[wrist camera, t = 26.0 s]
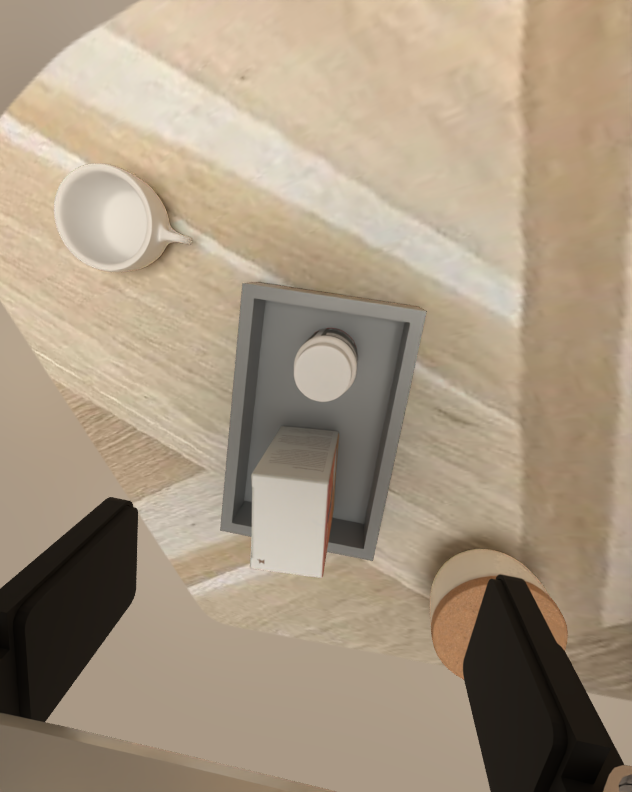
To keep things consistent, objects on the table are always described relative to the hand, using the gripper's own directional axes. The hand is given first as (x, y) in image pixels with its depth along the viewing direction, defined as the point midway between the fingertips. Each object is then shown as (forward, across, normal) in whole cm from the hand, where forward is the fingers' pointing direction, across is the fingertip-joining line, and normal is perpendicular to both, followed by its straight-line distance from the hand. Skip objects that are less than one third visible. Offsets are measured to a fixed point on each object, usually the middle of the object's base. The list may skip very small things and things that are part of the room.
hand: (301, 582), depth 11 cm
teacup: (+29, +19, -9) cm, 35 cm away
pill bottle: (+28, +2, -1) cm, 28 cm away
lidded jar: (+28, -16, +19) cm, 38 cm away
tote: (+28, +2, +5) cm, 29 cm away
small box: (+28, +2, +10) cm, 29 cm away
